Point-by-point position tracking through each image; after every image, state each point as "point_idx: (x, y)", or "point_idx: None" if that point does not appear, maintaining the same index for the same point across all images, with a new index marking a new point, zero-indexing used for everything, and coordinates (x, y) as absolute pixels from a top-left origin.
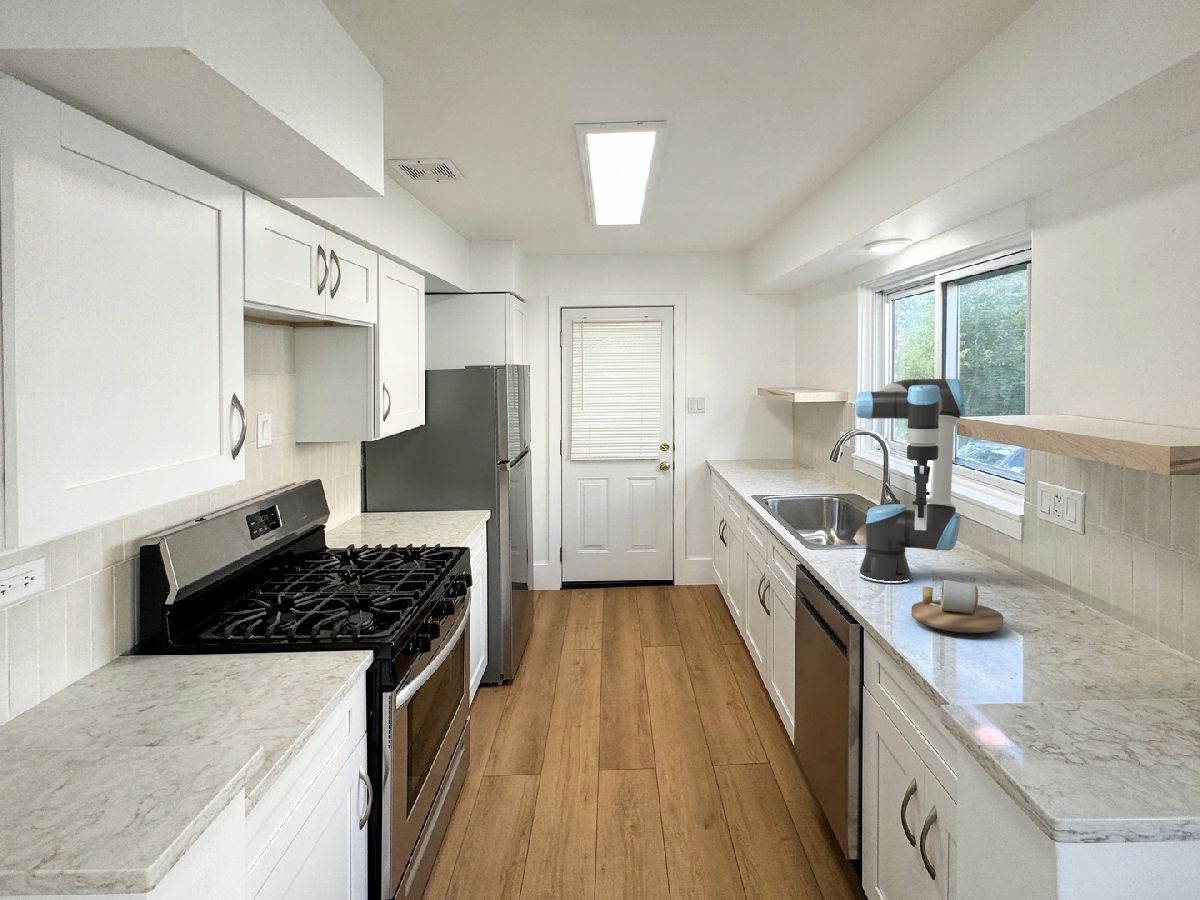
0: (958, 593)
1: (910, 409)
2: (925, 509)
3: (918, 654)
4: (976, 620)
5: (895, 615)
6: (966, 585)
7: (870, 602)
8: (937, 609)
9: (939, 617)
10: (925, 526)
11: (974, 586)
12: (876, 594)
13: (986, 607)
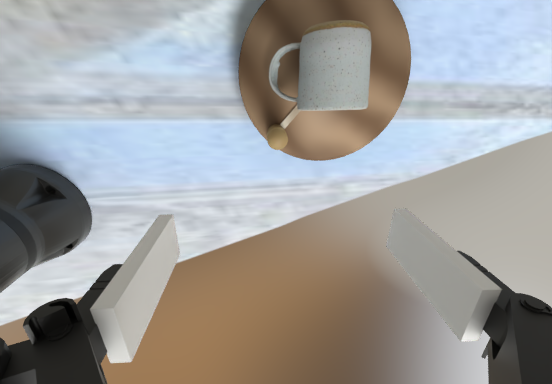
0: (369, 73)
1: None
2: (476, 274)
3: (478, 139)
4: (375, 37)
5: (290, 178)
6: (353, 51)
7: (229, 218)
8: (318, 114)
9: (371, 111)
10: (414, 219)
11: (346, 28)
12: (172, 214)
13: (267, 5)
